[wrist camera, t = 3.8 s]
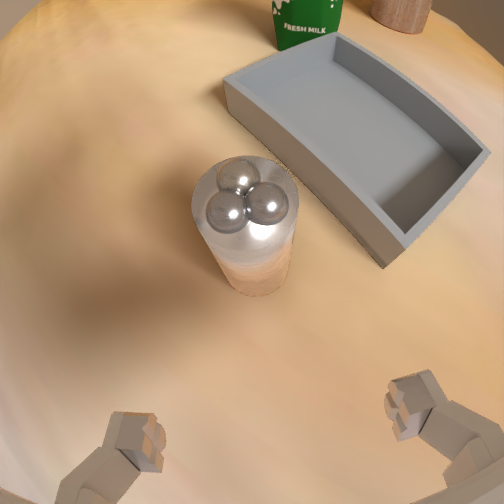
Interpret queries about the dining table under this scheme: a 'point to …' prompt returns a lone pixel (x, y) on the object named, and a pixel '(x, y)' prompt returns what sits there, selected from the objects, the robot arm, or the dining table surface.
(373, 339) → the dining table surface
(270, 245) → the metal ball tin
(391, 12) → the planter
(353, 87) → the bin
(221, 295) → the dining table surface
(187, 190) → the dining table surface
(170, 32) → the dining table surface
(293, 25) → the milk carton
